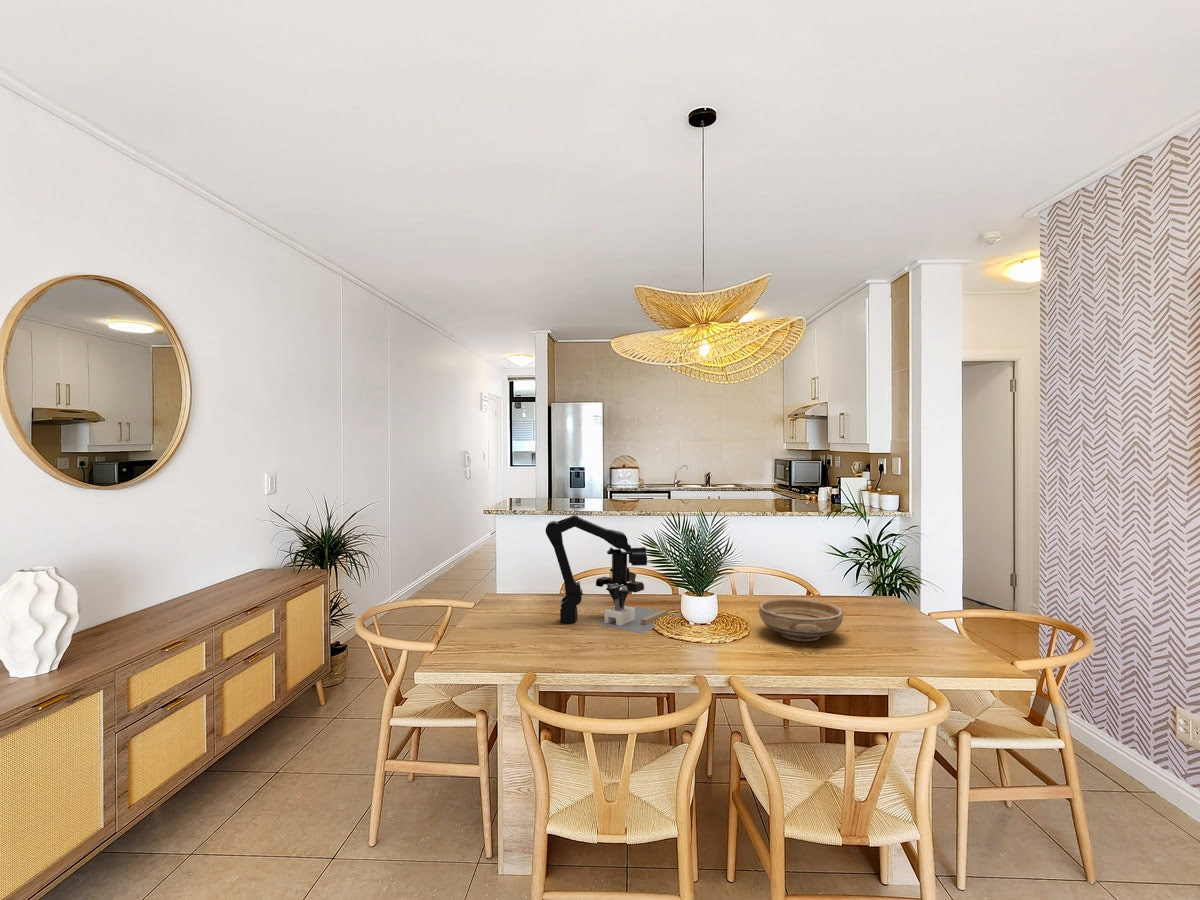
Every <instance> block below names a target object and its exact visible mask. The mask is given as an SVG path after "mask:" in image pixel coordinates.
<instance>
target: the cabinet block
mask: <svg viewBox="0 0 1200 900" xmlns="http://www.w3.org/2000/svg"><path fill="white" fill-rule="evenodd" d="M635 609H636V608H635V607H634V606H633V607H632V606H626V605H625V604H624V605H623V607H622V608H621V607H620V601H619V598H617V599H615V603H614V606H613V607H610V608H608V609H605V610H604V611H603V613H604V614H603V615H604V617H603V618H604V619H603V621H604V623H610V622H613V621H615V620H616V625H619V626H620V625H623V624H625V623H628V622H630V621H633V620H635Z"/></svg>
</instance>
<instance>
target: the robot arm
mask: <svg viewBox="0 0 1200 900" xmlns="http://www.w3.org/2000/svg"><path fill="white" fill-rule="evenodd" d="M573 528H577V529H579V530H581V531H584V532H586V533H589V534H590V535H593V536H595V537H598V538H600V539H603V540H604V541H605V542H607V543H608V544H609V545H611V547H609V549H608V550H607V551H606V554H607V555H611V568H609V571H610V572H611V577H609V576H601V577H598V578H596V580H595V586H596V587H600V588H602V587H604V585H607V586H606V588H605V590H606V591H608V593H609V594H610V596H611V598H612V601H613V603H614V604H615V599H617V598H619V601H620V607H621V608H622V607H623V605H624V606H625V602H626V599H627V597H628V594H629V593H639V592H641V591H645V584H644V583H643V582H642V581H637V580H636V577H637V574H636V573H633V572H631V571H630V568H629V567H628V564H630V565H631V566H638V567H639V566H645V567H646V566H648V557H647V548H646V547H645V546H641V547H632V546H631V544H629V542H628V538H627V536H626V534H625V533H624V532H622V531H618V530H615V529H609V528H605V527H602V526H600V525H599V524H596V523H593V522H591V521H588V520H586V519H583V518H582V517H579V516H578V515H575V514H573V515H571V516H569V517H566V518H564V519H560V520H558V521H556V520H552V521H549V522H548V523H547V524H546V527H545V534H546V536H547V538H548V540H549V542H550V544H551V545H552V547H553V549H554V552H555V556H556V559H557V562H558V566H559V568H560V572H561V575H562V579H563V582H564V590H565V591H564V592H565V596H564V597H563V598H562V599H561V600H560V609H559V613H560V615H559V622H560V624H562V625H573V624H576V623H577V621H578V605H579V604H580V603H581V602H582V598H583V597H582V596H583V595H584V594H583V589H582V588H581V581H576V580H575V577H574V575H573V572H572V569H571V565H570V562H569V559H568V554H567V552H566V549H565V545H564V541H563V539H564V538H563V533H564V532H566V531H568V530H570V529H573ZM613 547H614V548H616V549H614V548H613Z"/></svg>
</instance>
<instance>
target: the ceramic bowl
mask: <svg viewBox="0 0 1200 900" xmlns="http://www.w3.org/2000/svg"><path fill="white" fill-rule="evenodd" d="M758 614H759V616H760V619H761V621H762V622H763V623H764V624H765V626H767V627H768V628H770V629H771V630H773V631H776V632H778V633H780V636H781V637H783V638H785V639H787V640H791V641H795V642H815V641H817V640H819V639H820V637H823V636H827V635H829V634H832V633H834V632H835V631H837V630H838V629H839V628H840V626H841V625H842V622H843V619H844V610H843V609H842V608H841V607H840V606H837V605H835V604H833V603H829V602H825V601H821V600H816V599H809V598H800V597H780V598H771V599H766V600H763V601H761V602H759V603H758Z"/></svg>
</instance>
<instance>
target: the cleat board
mask: <svg viewBox="0 0 1200 900" xmlns="http://www.w3.org/2000/svg"><path fill="white" fill-rule="evenodd" d="M668 614H672V615H674V616H679V617H682V616H681V613H676V612H672V611H671V612H669V611H668V610H665V609H663V610H660V609H654V608H653V609H652V608H648V607H641V606H638V607H636V608H635V620H633V621H630V622H628V623H625V624H623V625H620V626H619V625H616V620H615V621H613V622H610V623H604V620H603V621H600V622H597V623H596V625H599V626H605V627H609V628H614V629H619V630H624V631H629V632H634V633H638V634H644V633H645V632H648V631H650V630H652V629H655V628H656V627H655V625H654V621H655V620H656V619H658V618H660V617H663V616H666V615H668Z"/></svg>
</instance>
